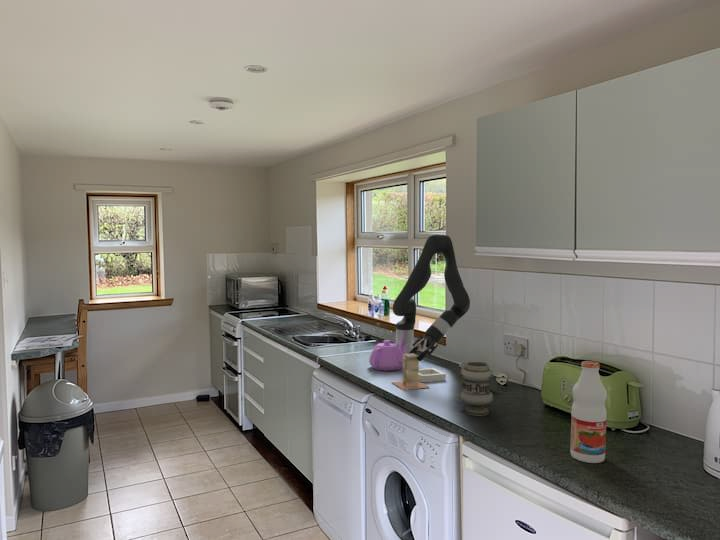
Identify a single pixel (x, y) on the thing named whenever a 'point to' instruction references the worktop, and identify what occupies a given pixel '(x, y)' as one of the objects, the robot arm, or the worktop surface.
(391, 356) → the teapot
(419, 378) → the collar frame
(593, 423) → the fruit juice
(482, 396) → the apothecary jar
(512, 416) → the worktop surface
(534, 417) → the worktop surface
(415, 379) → the beech block
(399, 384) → the mat
